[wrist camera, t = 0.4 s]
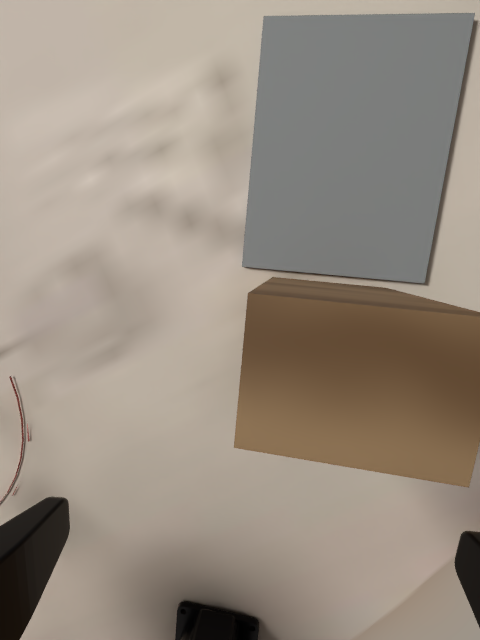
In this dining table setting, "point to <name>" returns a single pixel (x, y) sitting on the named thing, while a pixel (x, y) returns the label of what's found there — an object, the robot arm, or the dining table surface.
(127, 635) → the dining table surface
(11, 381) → the red flower sculpture
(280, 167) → the felt mat
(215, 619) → the robot arm
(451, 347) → the walnut block
